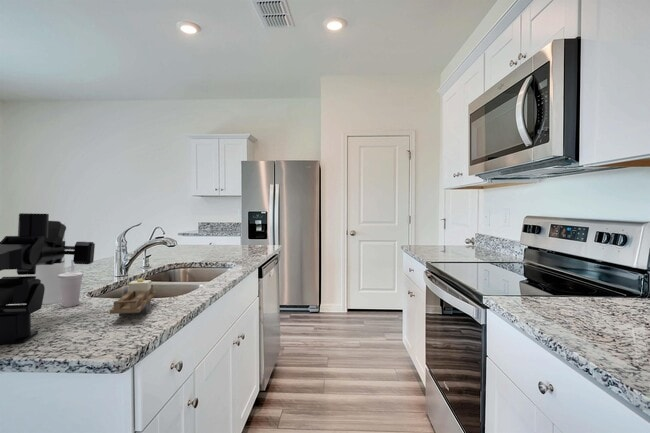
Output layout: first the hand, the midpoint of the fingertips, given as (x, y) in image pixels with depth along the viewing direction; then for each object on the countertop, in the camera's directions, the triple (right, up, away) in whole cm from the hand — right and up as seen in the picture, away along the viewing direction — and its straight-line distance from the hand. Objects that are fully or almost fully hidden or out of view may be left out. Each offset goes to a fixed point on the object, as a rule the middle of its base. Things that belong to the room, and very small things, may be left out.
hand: (69, 250), depth 103 cm
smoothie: (-2, -18, +3) cm, 18 cm away
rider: (+20, -14, +1) cm, 25 cm away
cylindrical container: (-11, -17, +7) cm, 21 cm away
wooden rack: (+22, -18, -3) cm, 28 cm away
